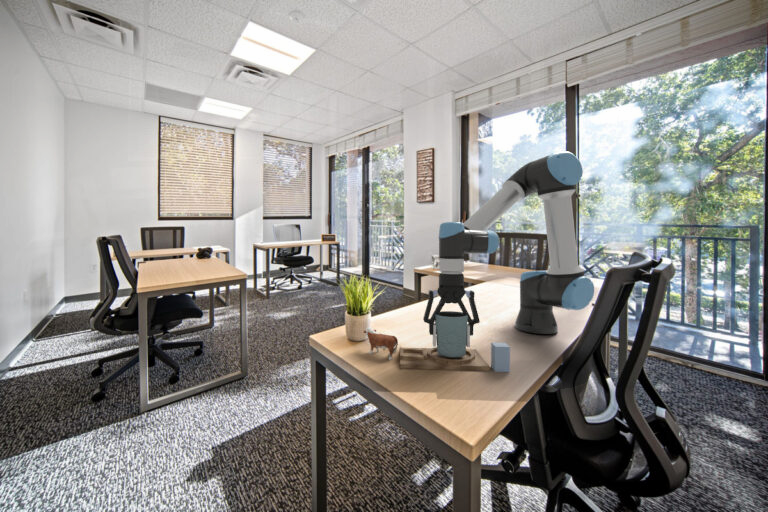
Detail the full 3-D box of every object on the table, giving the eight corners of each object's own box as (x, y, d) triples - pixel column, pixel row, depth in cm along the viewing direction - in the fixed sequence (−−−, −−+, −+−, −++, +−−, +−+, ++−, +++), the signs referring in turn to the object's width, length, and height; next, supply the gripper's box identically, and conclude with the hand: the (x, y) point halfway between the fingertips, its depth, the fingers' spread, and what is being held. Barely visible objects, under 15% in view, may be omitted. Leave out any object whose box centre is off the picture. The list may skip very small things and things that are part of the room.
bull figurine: (368, 349, 108) (368, 326, 108) (400, 358, 99) (400, 332, 99) (359, 353, 104) (359, 328, 104) (391, 362, 96) (392, 335, 96)
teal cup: (452, 360, 90) (452, 318, 90) (427, 351, 99) (427, 312, 99) (474, 353, 96) (475, 314, 96) (449, 345, 105) (449, 309, 105)
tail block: (505, 366, 92) (505, 342, 92) (509, 372, 88) (509, 346, 88) (491, 366, 92) (491, 342, 92) (495, 371, 88) (495, 346, 88)
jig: (475, 352, 105) (475, 346, 105) (489, 370, 89) (489, 362, 89) (400, 351, 106) (400, 344, 106) (400, 368, 90) (400, 360, 90)
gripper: (484, 272, 101) (484, 342, 101) (414, 271, 102) (414, 341, 102) (491, 273, 93) (490, 350, 93) (415, 273, 94) (415, 348, 94)
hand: (450, 345), depth 98 cm, fingers closed on teal cup, 9 cm apart
